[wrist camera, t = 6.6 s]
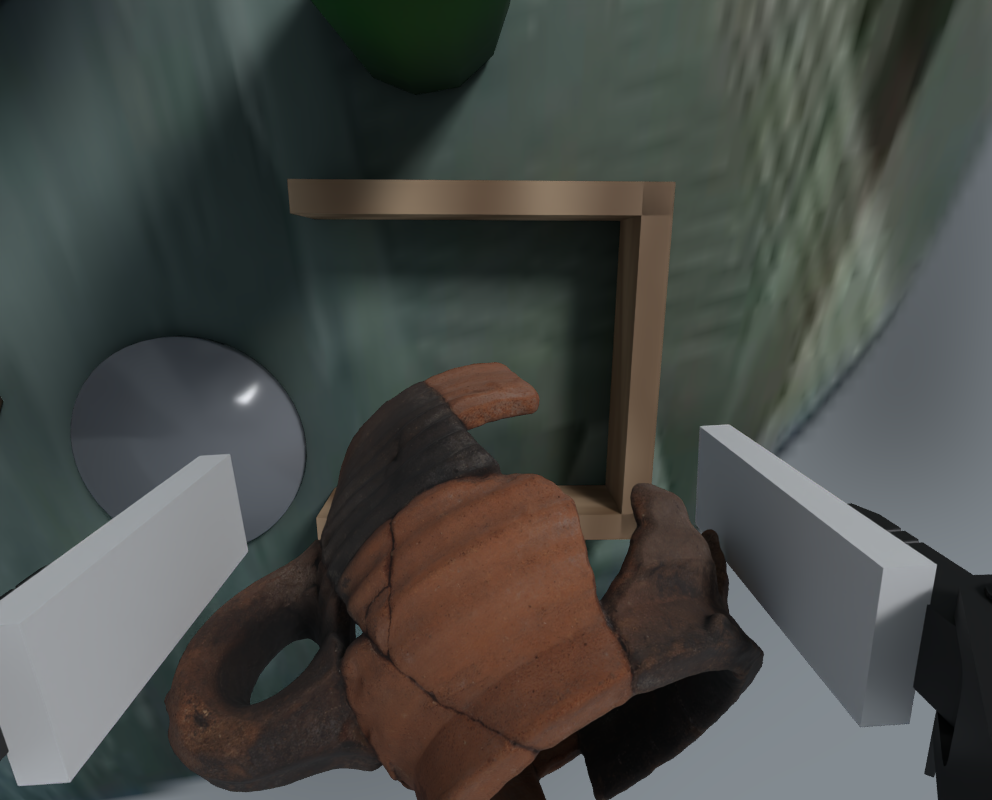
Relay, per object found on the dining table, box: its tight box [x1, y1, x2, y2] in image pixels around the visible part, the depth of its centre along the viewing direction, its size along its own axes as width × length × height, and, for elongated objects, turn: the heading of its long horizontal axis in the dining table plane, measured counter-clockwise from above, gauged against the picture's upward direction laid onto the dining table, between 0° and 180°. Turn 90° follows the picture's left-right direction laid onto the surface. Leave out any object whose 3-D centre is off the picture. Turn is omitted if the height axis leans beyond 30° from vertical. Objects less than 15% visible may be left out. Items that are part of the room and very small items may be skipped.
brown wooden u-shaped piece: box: [287, 179, 675, 540], centre depth 30 cm, size 18×18×4 cm
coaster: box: [71, 336, 307, 542], centre depth 32 cm, size 13×13×1 cm
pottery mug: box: [164, 362, 764, 800], centre depth 13 cm, size 12×9×8 cm
